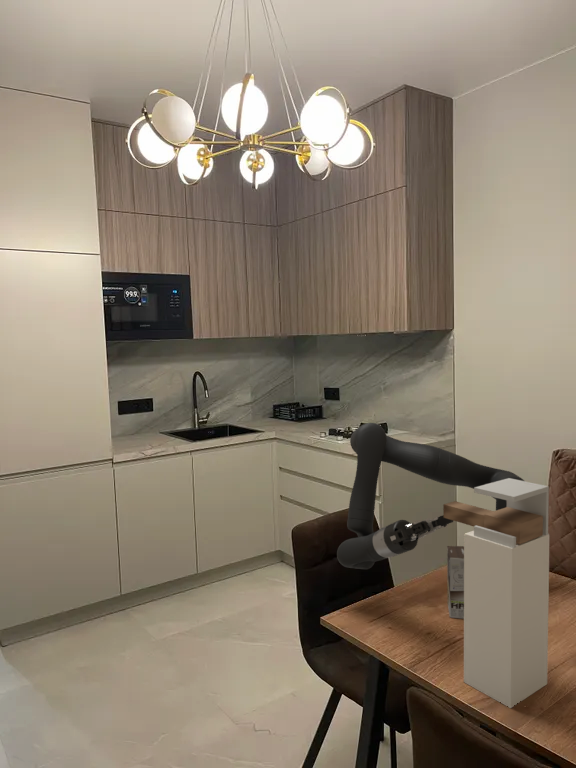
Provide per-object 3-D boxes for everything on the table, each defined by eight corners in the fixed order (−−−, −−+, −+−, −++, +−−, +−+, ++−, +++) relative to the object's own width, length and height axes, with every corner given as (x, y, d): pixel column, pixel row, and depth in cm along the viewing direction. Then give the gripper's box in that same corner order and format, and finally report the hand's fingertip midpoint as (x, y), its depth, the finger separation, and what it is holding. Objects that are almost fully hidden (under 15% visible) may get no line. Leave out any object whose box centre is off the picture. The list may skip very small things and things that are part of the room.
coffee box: (475, 620, 149) (475, 558, 148) (449, 618, 150) (449, 557, 149) (471, 603, 158) (471, 545, 157) (446, 602, 159) (446, 544, 158)
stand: (463, 682, 123) (464, 486, 119) (500, 660, 130) (502, 476, 127) (510, 708, 114) (512, 497, 110) (547, 683, 121) (550, 485, 118)
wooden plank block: (437, 519, 129) (437, 501, 129) (460, 512, 134) (460, 495, 133) (519, 544, 113) (519, 524, 112) (542, 535, 117) (542, 515, 117)
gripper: (368, 530, 143) (411, 511, 131) (408, 519, 151) (452, 499, 139) (379, 561, 140) (424, 544, 128) (420, 547, 149) (465, 530, 136)
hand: (439, 521), depth 134 cm, fingers open, 8 cm apart
